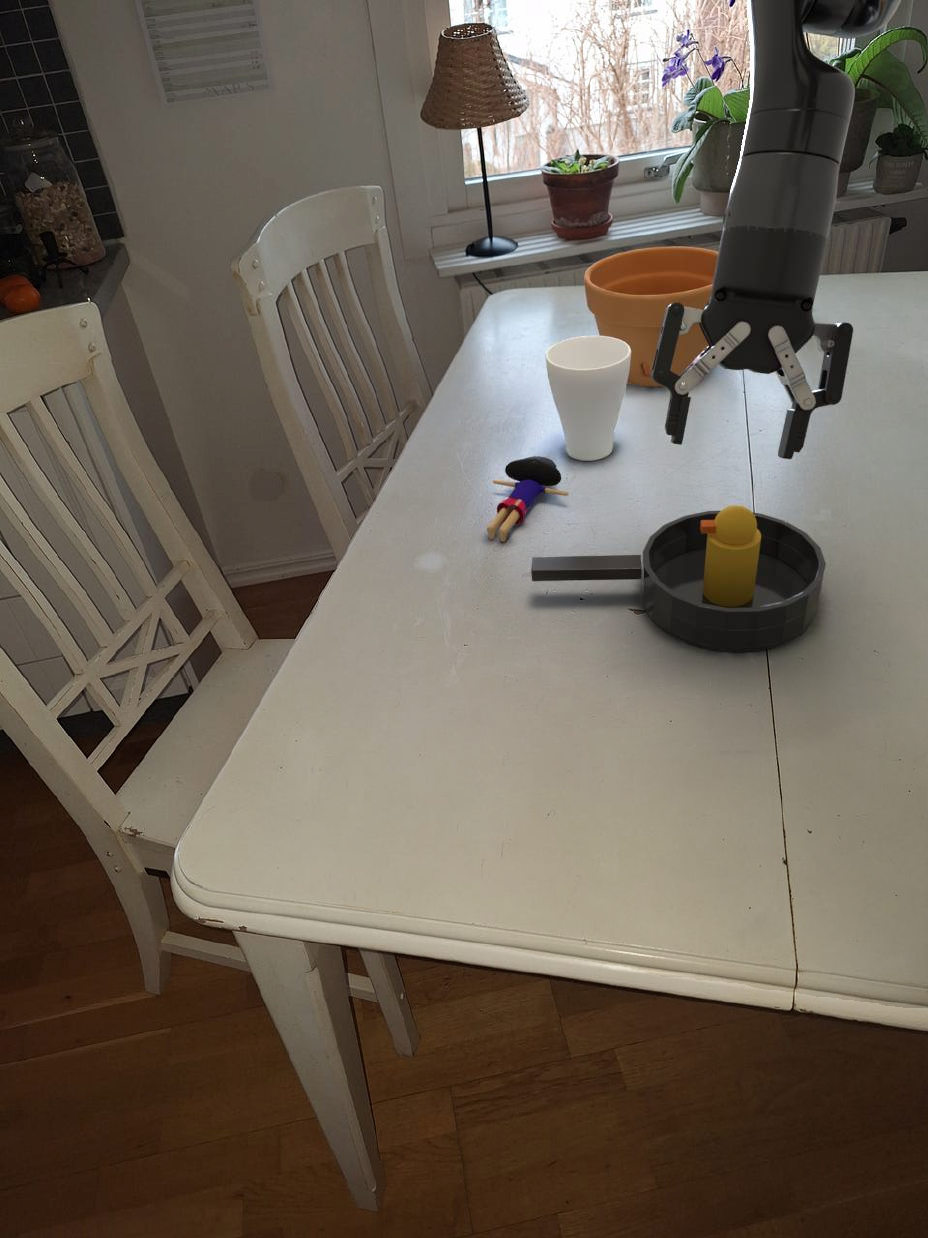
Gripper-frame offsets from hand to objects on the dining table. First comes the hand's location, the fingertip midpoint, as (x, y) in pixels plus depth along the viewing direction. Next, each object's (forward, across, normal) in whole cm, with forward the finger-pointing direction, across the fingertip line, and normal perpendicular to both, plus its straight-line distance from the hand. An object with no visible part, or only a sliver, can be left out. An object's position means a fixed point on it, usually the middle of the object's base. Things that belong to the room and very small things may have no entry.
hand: (730, 450), depth 70 cm
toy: (+13, -17, +34) cm, 40 cm away
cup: (+6, -10, +47) cm, 48 cm away
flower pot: (-6, -1, +70) cm, 70 cm away
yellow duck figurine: (+15, +6, +17) cm, 23 cm away
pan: (+16, +6, +17) cm, 24 cm away
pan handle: (+15, -9, +16) cm, 24 cm away
